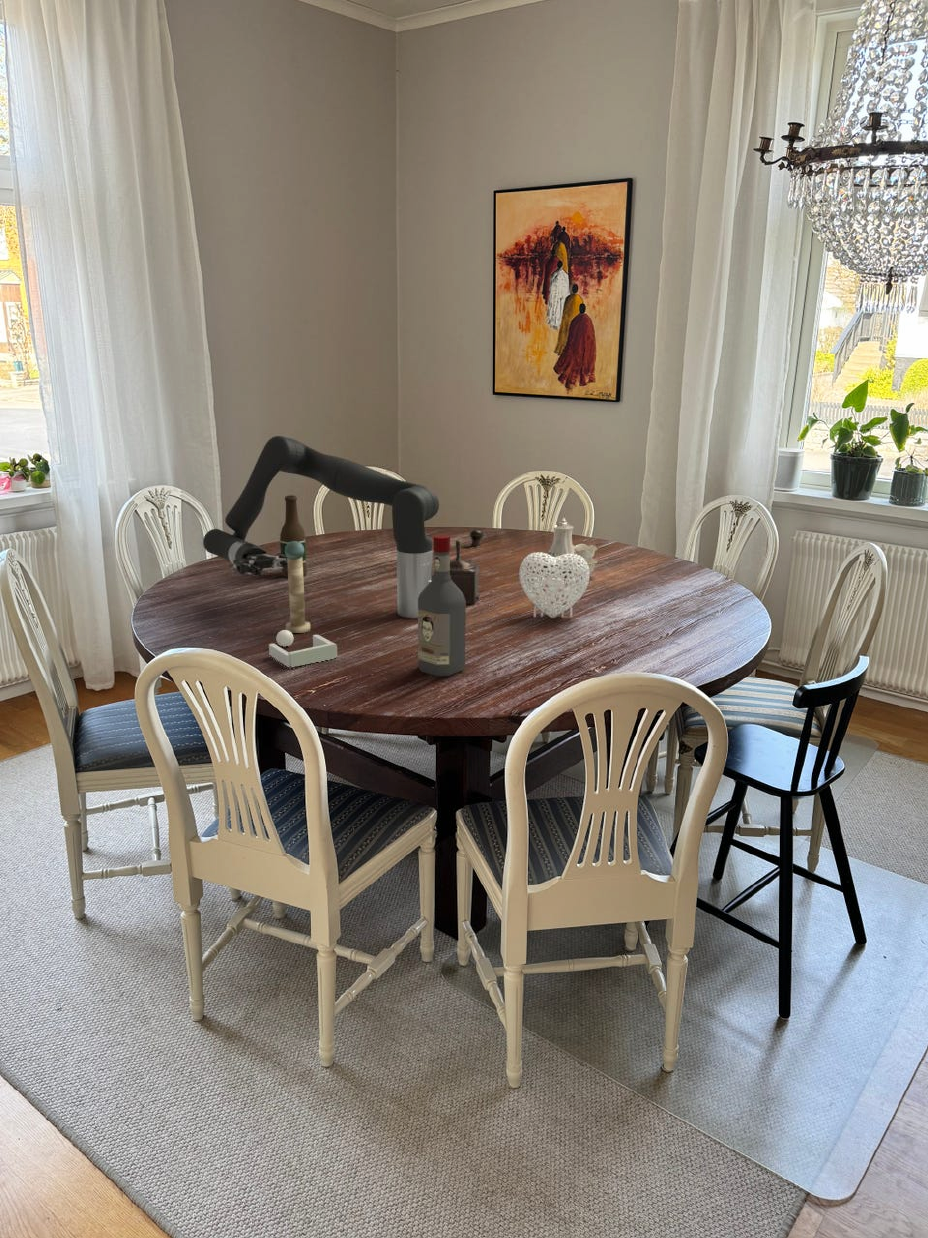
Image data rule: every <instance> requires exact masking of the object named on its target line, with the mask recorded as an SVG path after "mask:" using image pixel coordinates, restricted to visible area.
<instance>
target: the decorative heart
mask: <svg viewBox="0 0 928 1238" xmlns="http://www.w3.org/2000/svg"><path fill="white" fill-rule="evenodd" d="M568 556H569V557H568ZM572 556H573V557H572ZM568 558H571V559H570V560H568ZM544 559H545V560H544ZM578 560H579V561H578ZM546 561H548V563H547V562H546ZM563 561H566V562H563ZM569 561H571V563H569ZM575 561H576V562H575ZM556 562H557V563H556ZM520 563H521V564H520V566H519V571H518V573H519V575H518V576H519V583H520V585H521V588H522V590H523V592H524V594H525V595H526V596H527V598H528V599H529V600H530V602H531V603H533V605H534V606H533V607H534V608H533V618H537V609H538V610H539V611H541V612H540V617H541V618H543V617H544V614H545V615H547V616H548V617H550V619H555V618H557V616H560V615H561V618H563V619H564V618H565V611H567V610H569V609H570V611H569V618H570V619H572V618H573V609H574V608H573V606H574V605H575V604H576V603H577V602H578V601H579V600H580V599H581V597H582V596H583V595H584V593H585V592H586V590H587V587H588V585H589V582H590V577H591V576H590V574H591V573H590V571H589V566H588V564H587V562H586V561H585V560H584V559H583V558H582V557H581V556H579V555H577V554H564V555H561V556H558V557H552V556H550V555H548V554H547V553H545V552H541V551H540V552H531V553H530V554H527V556H525V557H524V559H523V560H522V561H521V562H520ZM573 563H575V564H573ZM577 563H579V565H578V564H577ZM581 563H582V564H581ZM565 564H567V565H565ZM551 565H553V567H551ZM555 565H558V566H557V567H556V566H555ZM570 565H572V566H570ZM574 565H576V566H574ZM573 567H574V568H573ZM559 568H561V569H559ZM564 568H566V569H564ZM578 568H579V569H578ZM569 569H570V570H569ZM551 570H552V571H551ZM576 570H577V571H576ZM581 570H582V571H581ZM564 571H566V572H564ZM569 571H571V572H569ZM574 574H575V575H574ZM576 574H577V576H576ZM579 575H580V576H579ZM565 577H566V578H565ZM581 577H582V578H581ZM584 577H585V578H584ZM566 585H567V586H566ZM544 590H545V591H544ZM560 590H561V591H560ZM559 591H560V592H559ZM564 603H565V604H564Z"/></svg>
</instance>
